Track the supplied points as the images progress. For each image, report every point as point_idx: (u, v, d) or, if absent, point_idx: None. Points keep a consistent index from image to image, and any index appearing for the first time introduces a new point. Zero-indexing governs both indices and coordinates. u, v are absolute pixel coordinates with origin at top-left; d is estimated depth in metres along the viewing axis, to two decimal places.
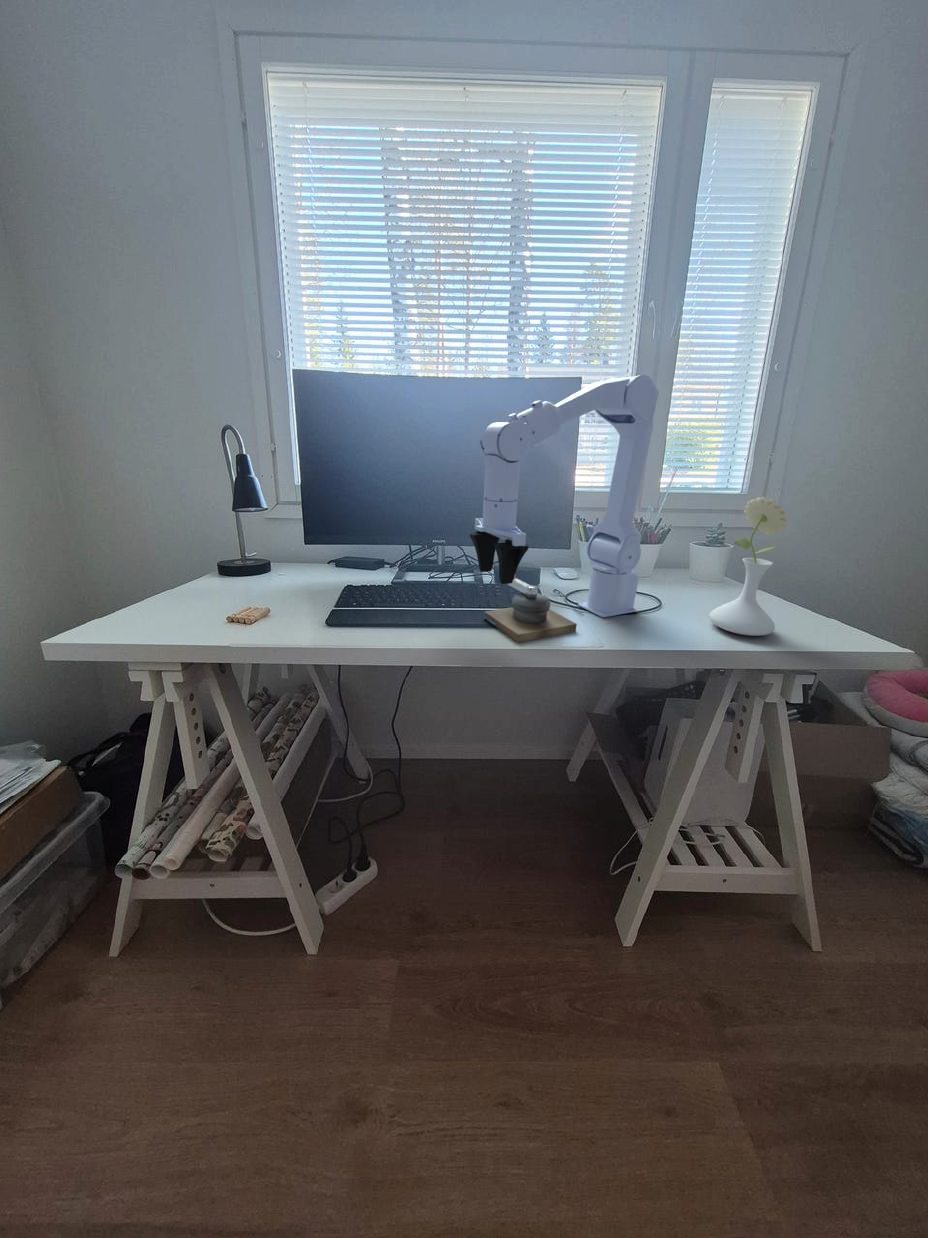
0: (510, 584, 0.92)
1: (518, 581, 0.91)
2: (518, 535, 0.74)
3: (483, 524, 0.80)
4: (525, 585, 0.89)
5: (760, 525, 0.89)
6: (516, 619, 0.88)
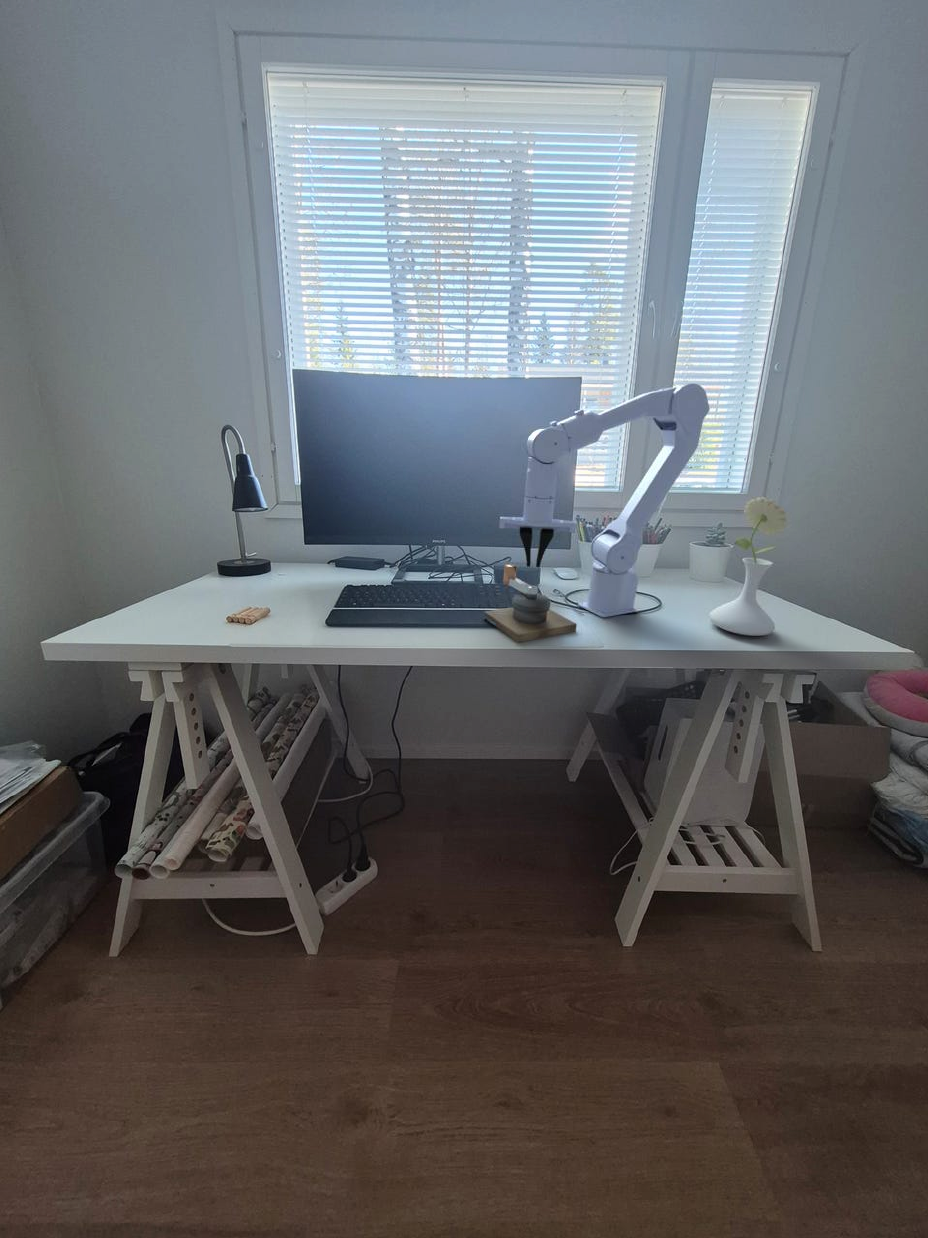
0: (510, 584, 0.93)
1: (518, 581, 0.91)
2: (500, 518, 0.92)
3: None
4: (525, 585, 0.89)
5: (760, 525, 0.89)
6: (516, 619, 0.88)
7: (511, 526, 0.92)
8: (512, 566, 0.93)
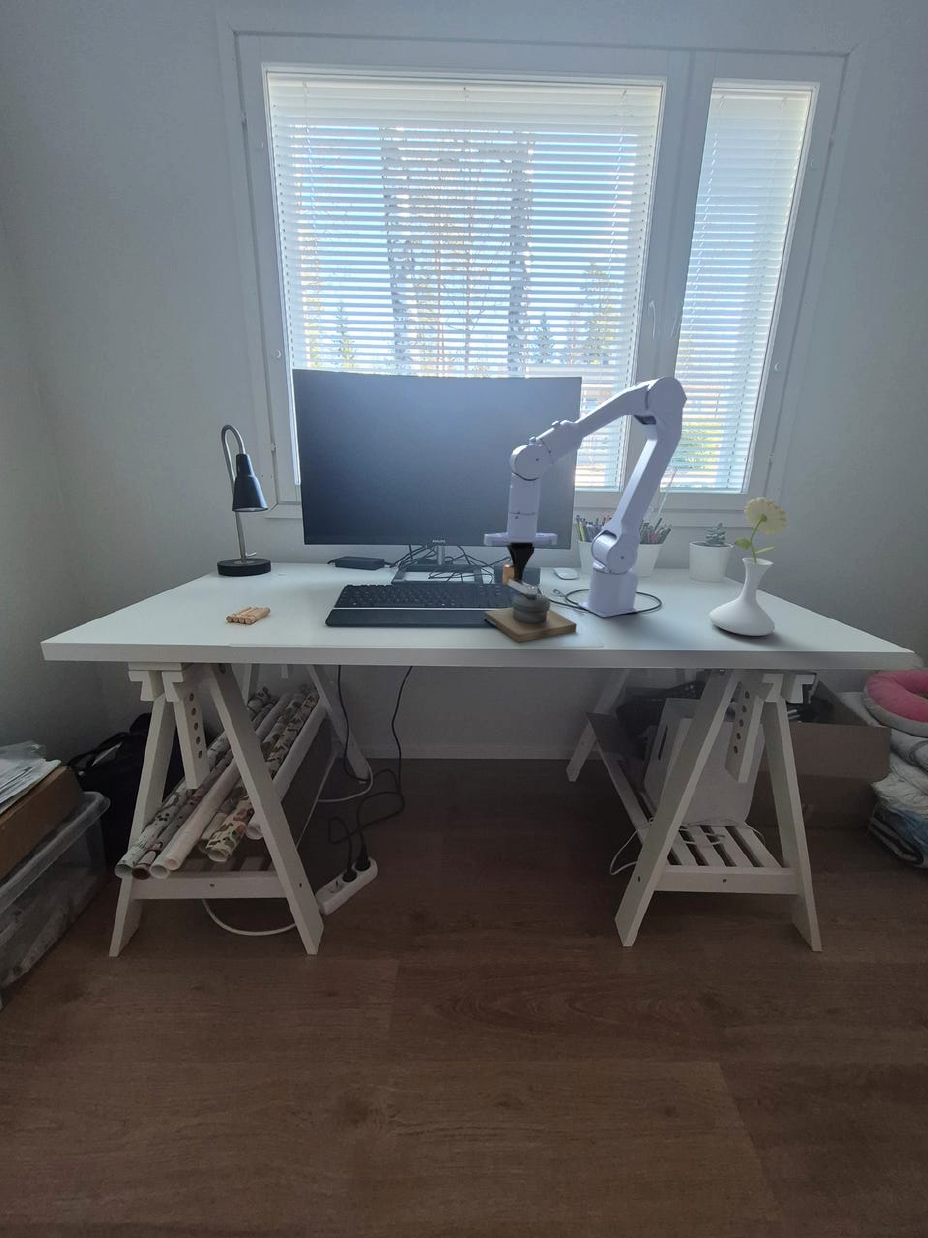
0: (510, 584, 0.92)
1: (518, 581, 0.91)
2: (484, 535, 0.90)
3: None
4: (525, 585, 0.89)
5: (760, 525, 0.89)
6: (516, 619, 0.88)
7: (497, 543, 0.91)
8: (511, 566, 0.92)
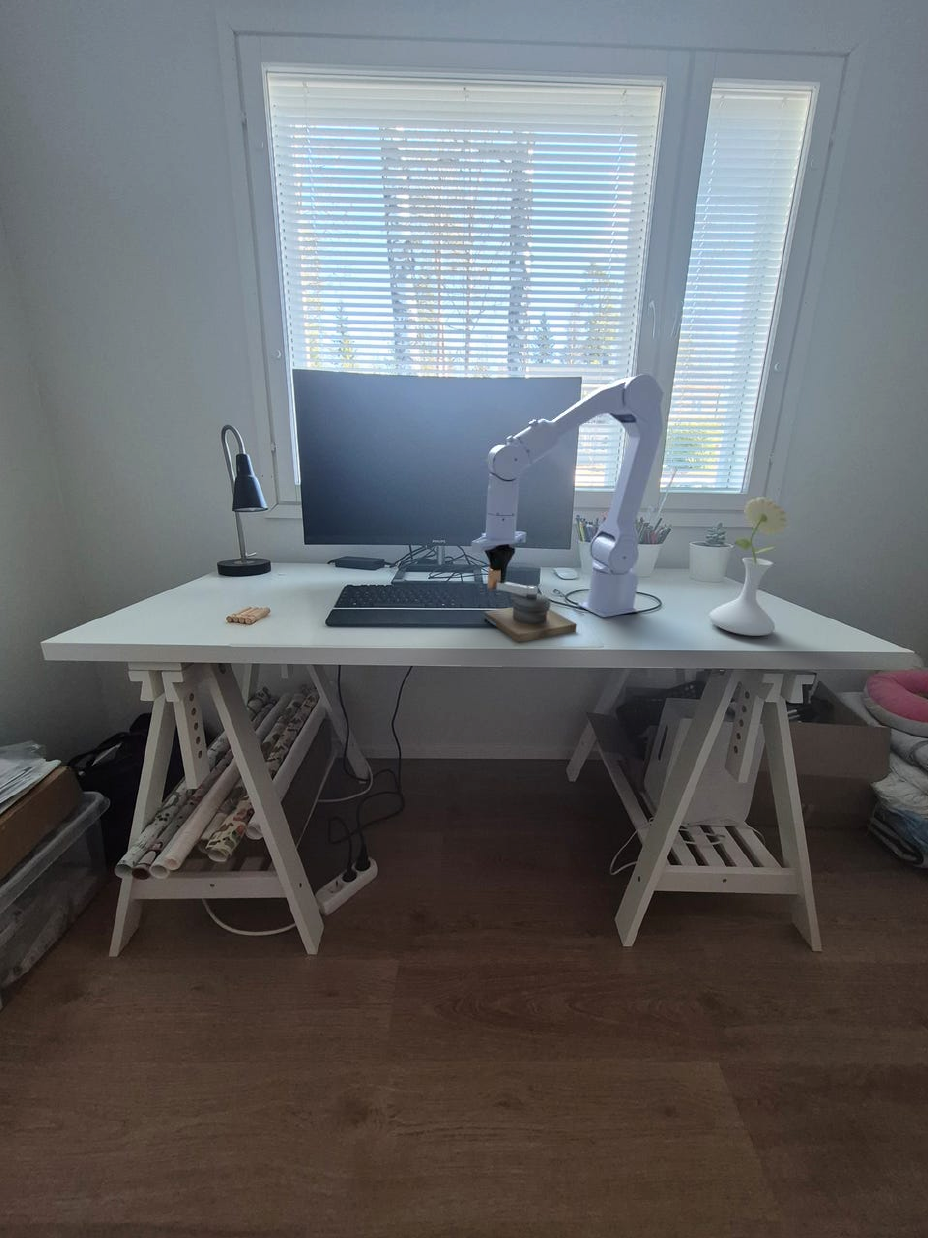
0: (500, 588, 0.90)
1: (510, 583, 0.89)
2: (473, 542, 0.85)
3: None
4: (522, 586, 0.88)
5: (760, 525, 0.89)
6: (516, 619, 0.88)
7: (484, 548, 0.86)
8: (497, 569, 0.90)
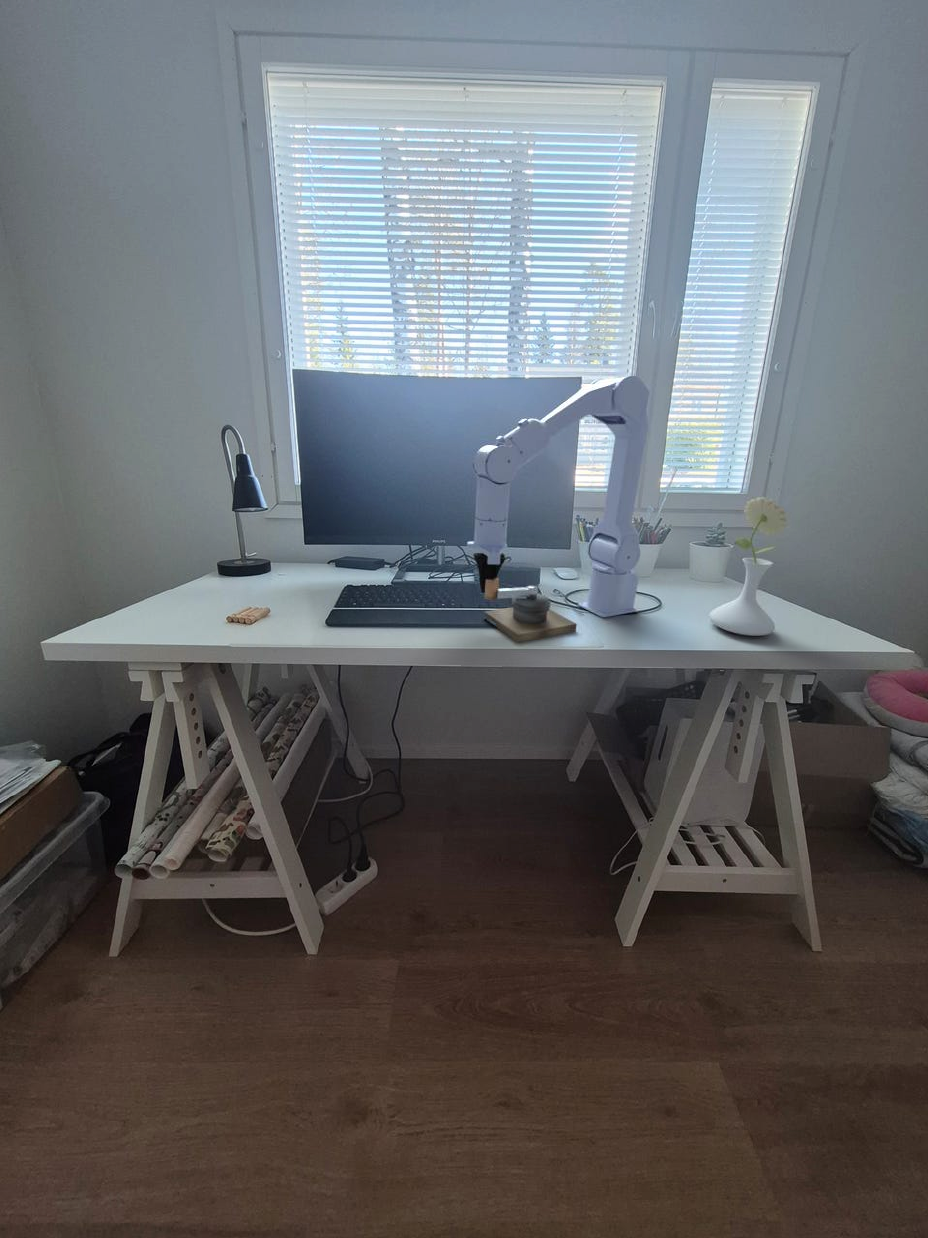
0: (501, 596, 0.85)
1: (510, 589, 0.86)
2: (491, 554, 0.77)
3: (474, 540, 0.84)
4: (524, 589, 0.86)
5: (760, 525, 0.89)
6: (516, 619, 0.88)
7: None
8: (495, 578, 0.84)
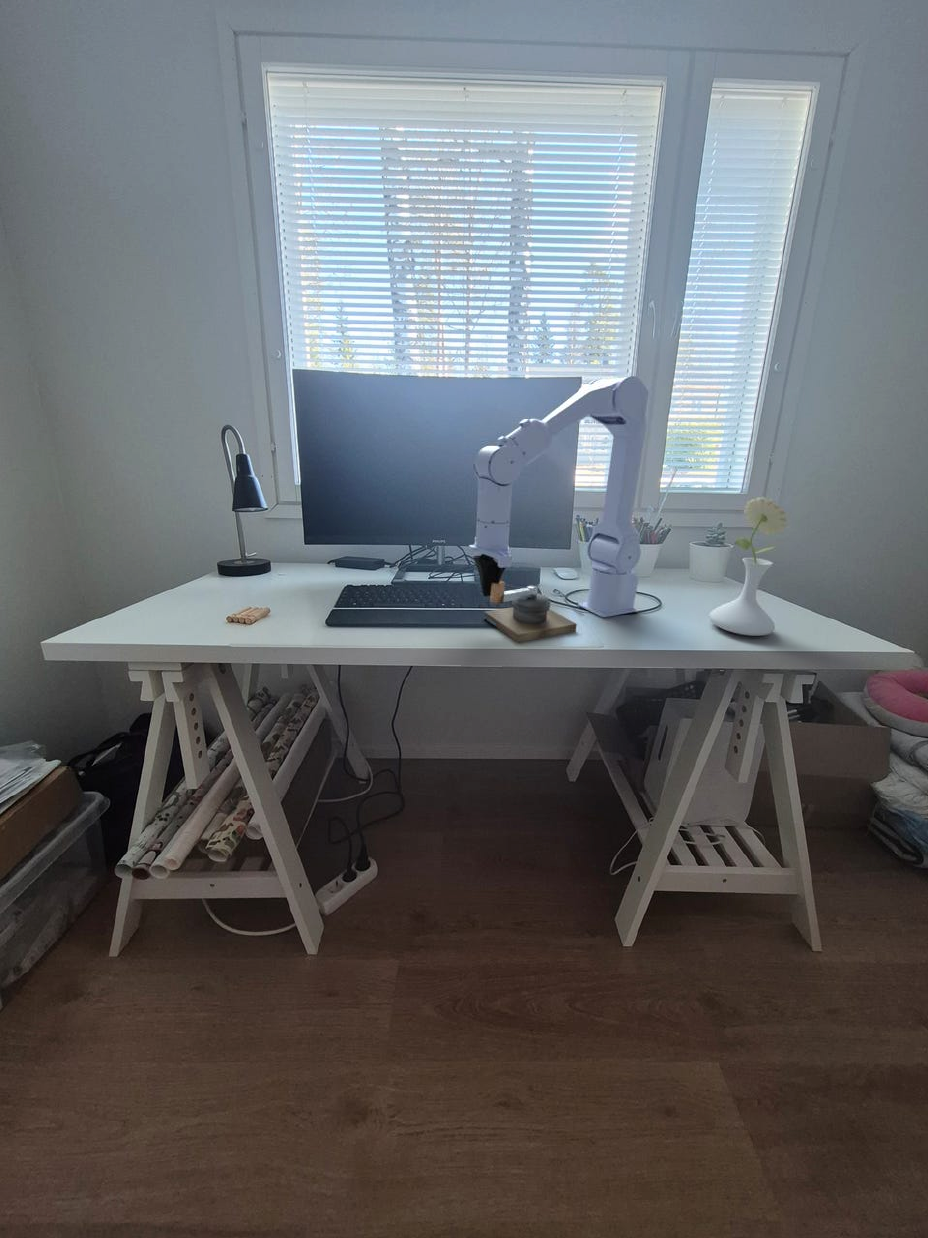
0: (506, 599, 0.84)
1: (513, 591, 0.85)
2: (503, 557, 0.76)
3: (475, 544, 0.82)
4: (525, 589, 0.86)
5: (760, 525, 0.89)
6: (516, 619, 0.88)
7: None
8: (500, 581, 0.83)
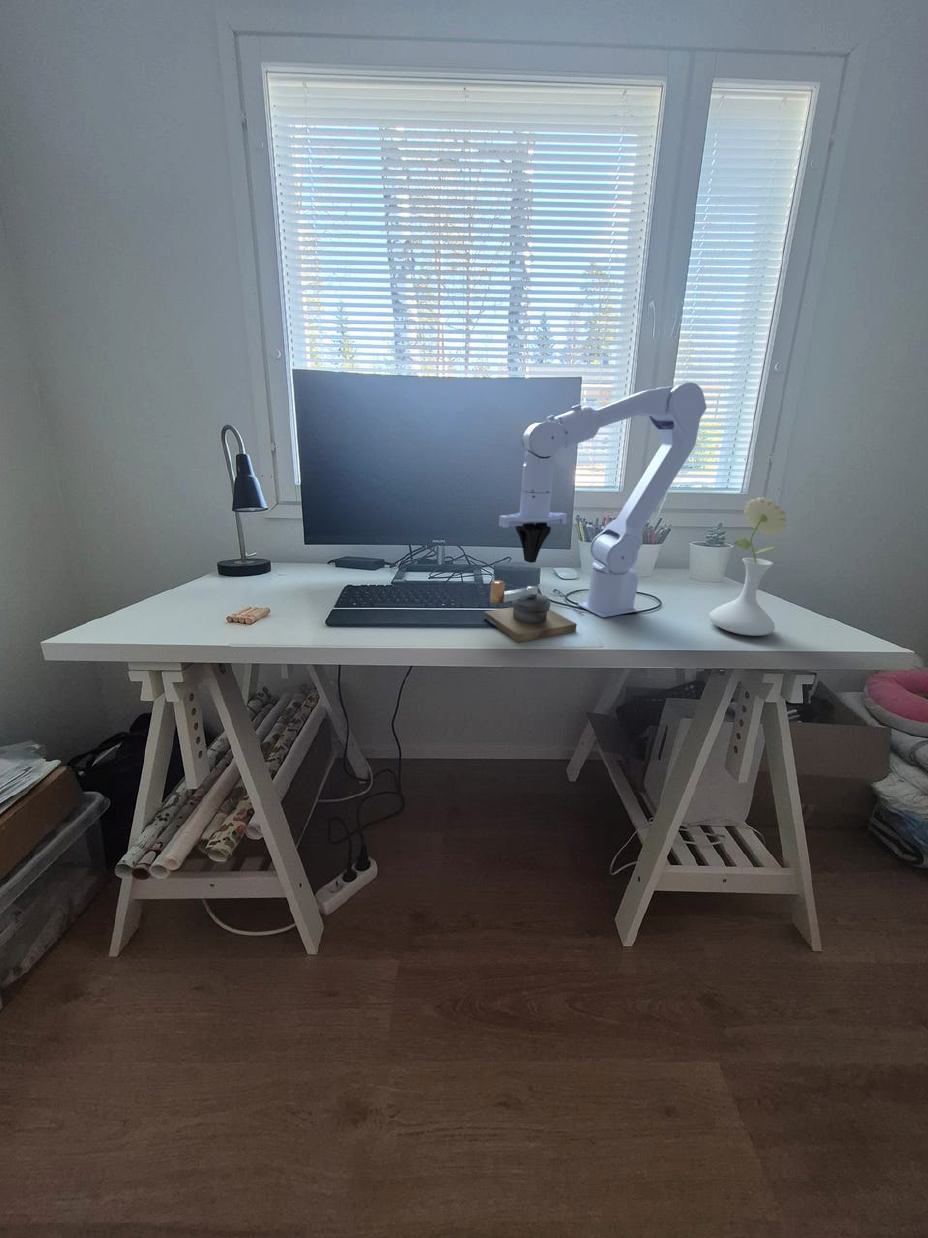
0: (507, 599, 0.84)
1: (513, 591, 0.85)
2: (500, 517, 0.87)
3: None
4: (525, 589, 0.86)
5: (760, 525, 0.89)
6: (516, 619, 0.88)
7: (513, 524, 0.88)
8: (500, 581, 0.83)
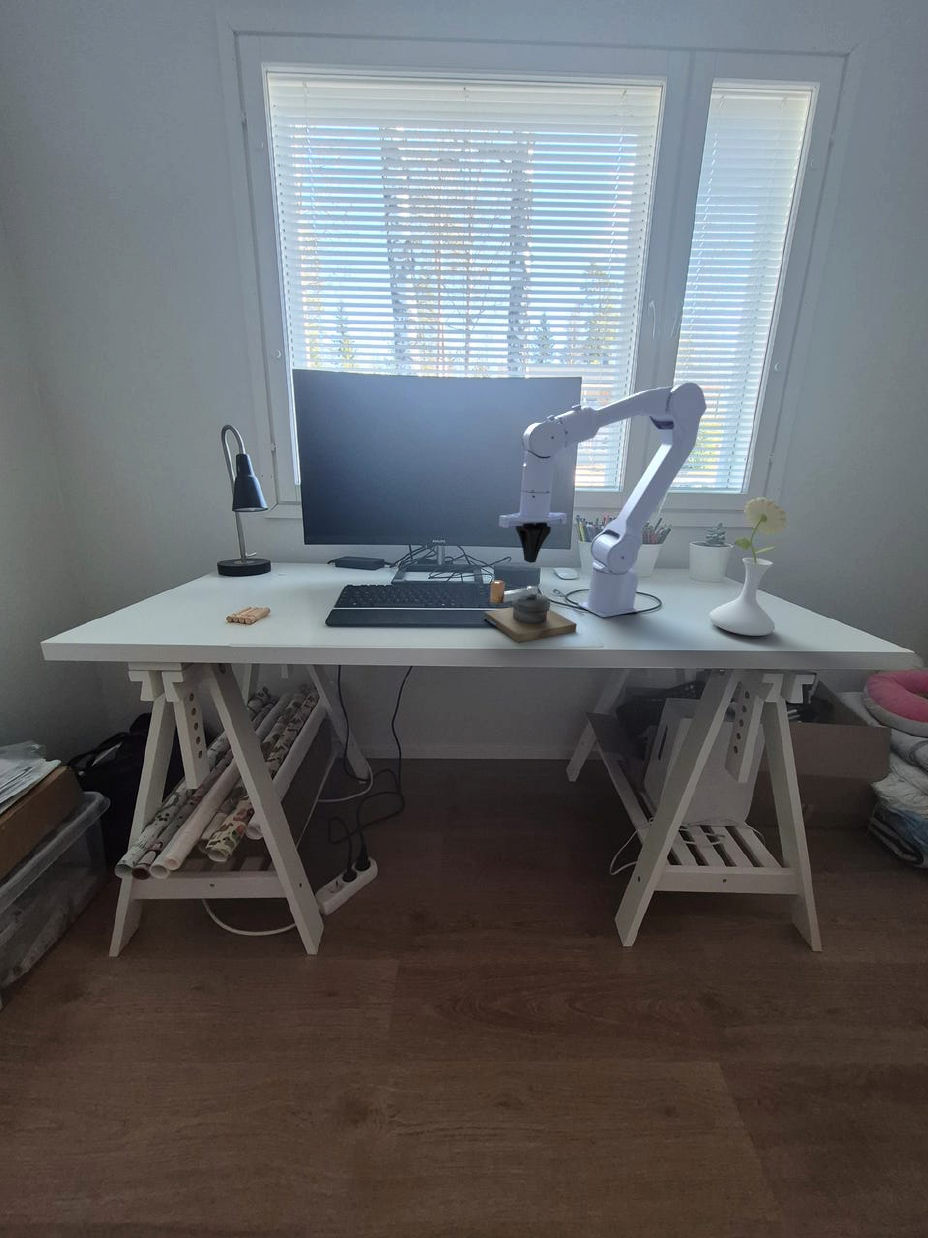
0: (507, 599, 0.84)
1: (513, 591, 0.85)
2: (500, 517, 0.87)
3: None
4: (525, 589, 0.86)
5: (760, 525, 0.89)
6: (516, 619, 0.88)
7: (513, 524, 0.88)
8: (500, 581, 0.83)
